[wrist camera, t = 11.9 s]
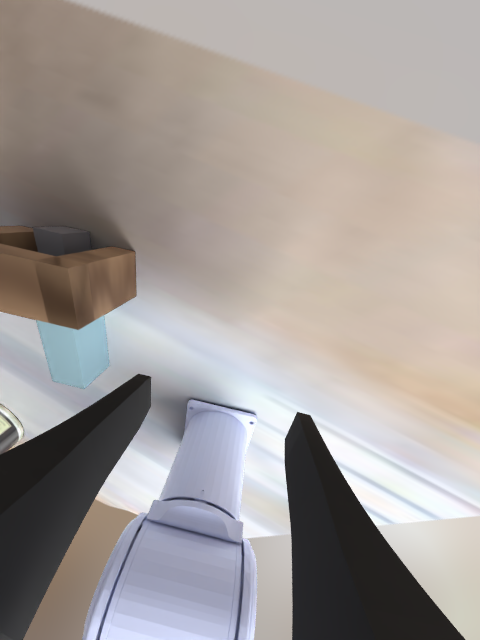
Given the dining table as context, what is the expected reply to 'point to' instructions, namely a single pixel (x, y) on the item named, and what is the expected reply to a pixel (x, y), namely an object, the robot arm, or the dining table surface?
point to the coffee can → (9, 429)
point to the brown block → (62, 280)
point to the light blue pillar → (66, 343)
